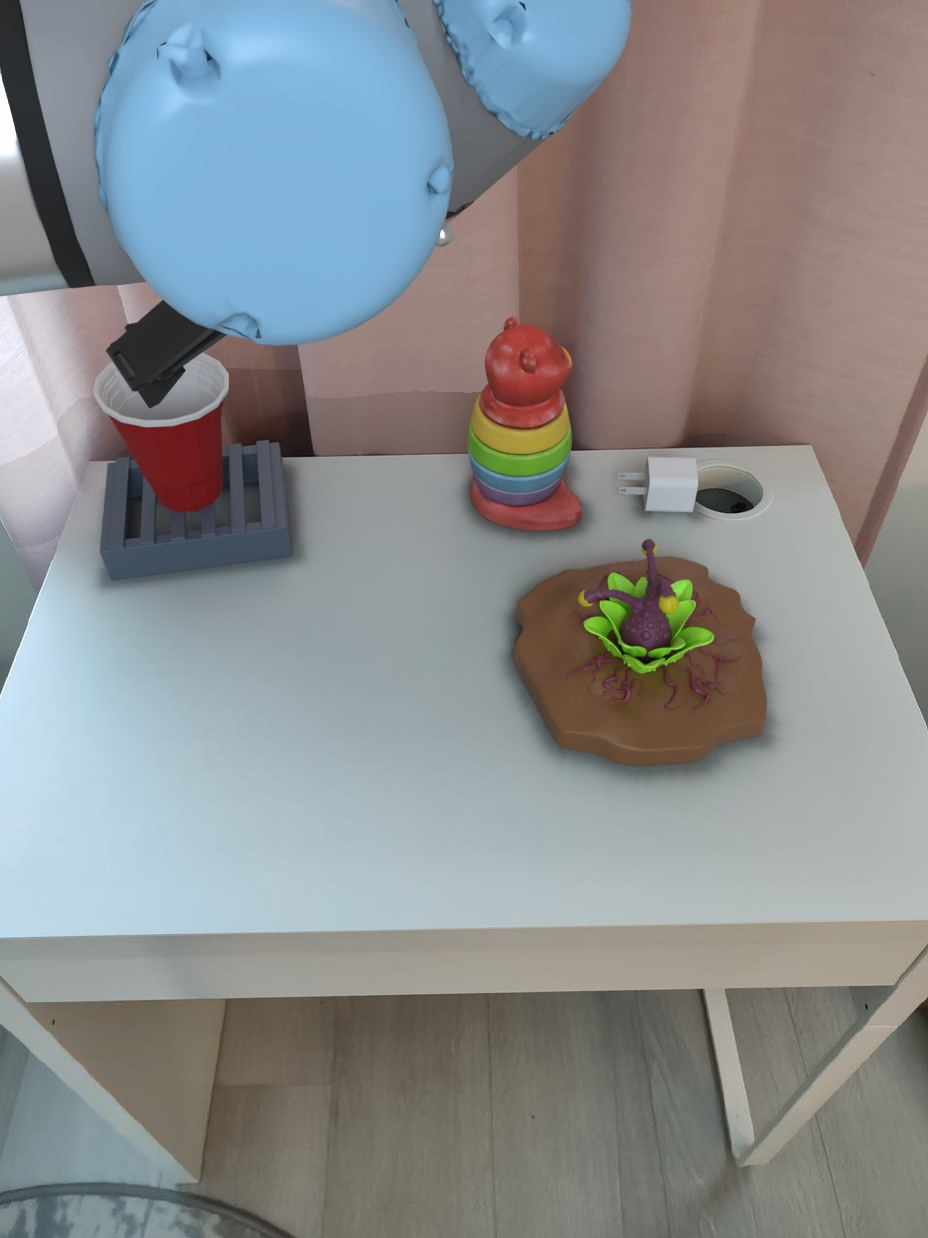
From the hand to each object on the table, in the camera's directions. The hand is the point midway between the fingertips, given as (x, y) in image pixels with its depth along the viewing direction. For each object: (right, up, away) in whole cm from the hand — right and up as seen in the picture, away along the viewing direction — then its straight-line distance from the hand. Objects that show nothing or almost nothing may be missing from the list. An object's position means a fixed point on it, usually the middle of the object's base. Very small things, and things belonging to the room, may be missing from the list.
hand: (232, 340), depth 64 cm
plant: (+29, -22, +17) cm, 40 cm away
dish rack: (-10, -9, +29) cm, 32 cm away
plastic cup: (-10, -6, +26) cm, 29 cm away
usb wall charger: (+33, -7, +30) cm, 45 cm away
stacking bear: (+20, -6, +31) cm, 38 cm away
